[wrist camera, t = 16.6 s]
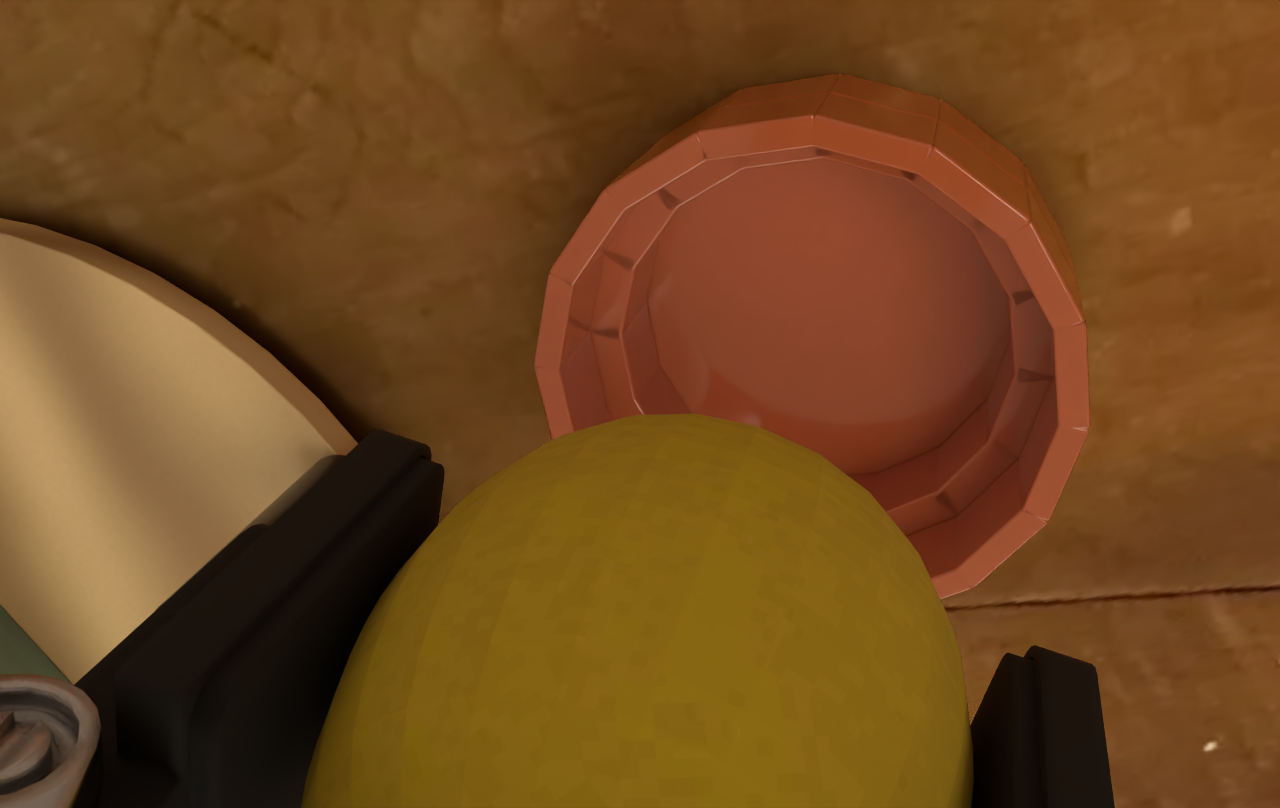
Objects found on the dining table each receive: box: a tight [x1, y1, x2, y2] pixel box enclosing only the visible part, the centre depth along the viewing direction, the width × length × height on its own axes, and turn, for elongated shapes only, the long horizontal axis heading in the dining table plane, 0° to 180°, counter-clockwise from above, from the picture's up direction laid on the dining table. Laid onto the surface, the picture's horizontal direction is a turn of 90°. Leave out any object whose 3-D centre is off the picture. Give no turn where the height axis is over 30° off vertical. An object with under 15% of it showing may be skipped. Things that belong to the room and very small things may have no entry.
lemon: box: [301, 414, 974, 808], centre depth 10 cm, size 6×6×8 cm
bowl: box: [534, 74, 1090, 600], centre depth 25 cm, size 11×11×5 cm
